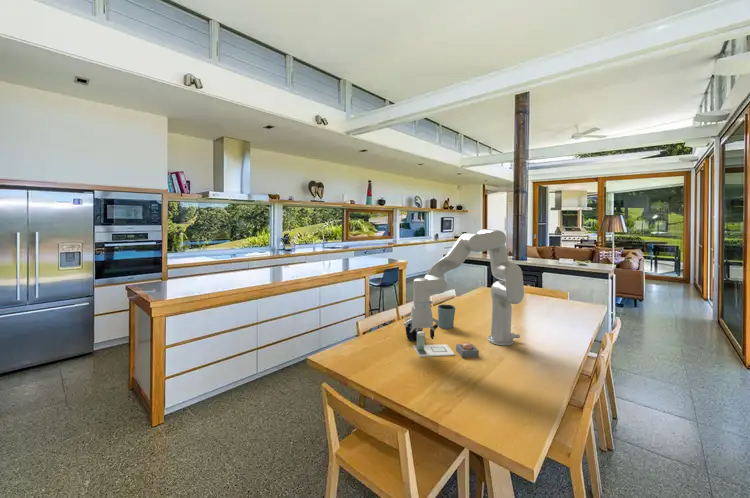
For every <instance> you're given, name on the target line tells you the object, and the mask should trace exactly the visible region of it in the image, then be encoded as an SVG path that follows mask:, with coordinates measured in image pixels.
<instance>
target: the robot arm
mask: <svg viewBox="0 0 750 498" xmlns="http://www.w3.org/2000/svg"><path fill="white" fill-rule="evenodd" d="M506 243H507V235H506V234H505V232H504V231H502V230H499V229H489V228H483V229H479V230H478V231H477V232H476V233H471V232H465V233H462V234H461V235H460V236H459V237H458V238H457V240H456V241H455V243H454V244H453V246H451V248H450V250H449V251H448V253H446V255H445V256H444V257H442V258H441V259H439V260H438V261H437V262H435V263H434V264H433V265H432V266H431V267H430V269H429V270H428V271H427V272H426V274H425V276H424V277H417V278H414V279H413V284H412V285H413V287H412V288H413V290H412V291H413V292H412V294H413V305H412V306H411V311H410V318H411V319H409V320H408V321H406V322H403V325H404V326H405V327H406V328H405V330H406V329H407V330H408V331H409V332H410V338H411V340H412V341H413V330H414V329H415V328H423V329H428V328H429V337H430V338H431V340H434V337H435V331H436V329H437V328H439V326H438V325H439V323H440V321H439V320H438V319H436V318H434V317H433V311H432V306H431V305H433V300H431V299H430V294H435V295H436V294H437V295H439V294H443V293H445V292H446V290H447V289H448V283H447V281H446V280H445V279H444V278H442V276H443V275H444V274H446V273H447V272H449V271H451V270H454V269H458V268H460V267H461V266H462V265H463V263H465V261H466V260H467V258H468V256H469V255H470V254H471V252H475V253H480V252H488V254H489V261H490V262H489V263H490V269H491V275H492V276H493V277H494V278H495V279H498V280H497V281H495V282H493V283H492V285H491V286H490V296H491V326H490V327H491V328H490V335H489V336H488V337H487V341H488V342H489V343H491V344H493V345H495V346H496V345H498V346H505V347H506V346H512V345H513V344H514V339H521V338H520V337H521V335H520V333H516V334H515V333H514V332H512V315H513V313H512V310H513V308H512V305H518V304H521V302H522V301H523V300H524V297H525V287H524V275H523V270H522V269H521V267H520V266H519V265H518V264H517V263H515V262H510V260H509V256H508V250H507V247H506ZM434 322H435V323H434ZM409 323H411V327H410V328H409V327H408V324H409ZM411 340H410V341H411ZM413 342H414V341H413Z"/></svg>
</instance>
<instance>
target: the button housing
mask: <svg viewBox="0 0 750 498" xmlns="http://www.w3.org/2000/svg"><path fill="white" fill-rule="evenodd" d="M471 344H472V349H469V350H464V349H463V348H462V347H463V343H459V344H455V349H456V350H455V352H457V353H458V355H459V356H460V357H461V358H476V357H478V358H479V355H480V354H479V353H480V350H479V349H478V348H477V347H476V346H475V345H474V344H473V343H471Z"/></svg>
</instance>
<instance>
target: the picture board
mask: <svg viewBox="0 0 750 498" xmlns="http://www.w3.org/2000/svg"><path fill="white" fill-rule="evenodd" d="M413 348H414V350H415V352H416V354H417V356H418V357H419V358H422V357H423V358H424V357H425V358H426V357H446V356H447V357H449V356H450V357H451V356H455V355H456V354H455V352H454V351H453V350H452V349H451V348H450V346H449V345H448V344H446V343H445V344H444V343H443V344H441V343H440V344H425V348H424V350H422V351H419V350H418V348H417V344H416V345H413Z"/></svg>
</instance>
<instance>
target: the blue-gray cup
mask: <svg viewBox="0 0 750 498" xmlns="http://www.w3.org/2000/svg"><path fill="white" fill-rule="evenodd" d="M437 313H438V314H437V316H438V317H437V318H438V319H437V320H439V321H440V323H439V325H438V328H441V329H443V330H450V329H454V320H455V316H456V315H455V314H456V306H454V305H452V304H446V303H445V304H439V305H438V306H437Z"/></svg>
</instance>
